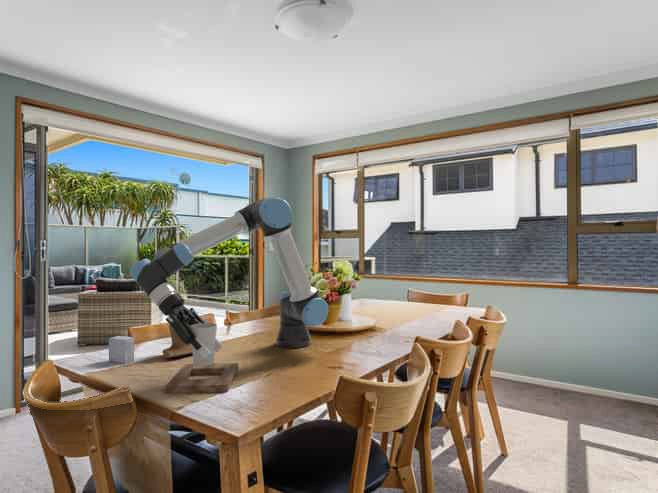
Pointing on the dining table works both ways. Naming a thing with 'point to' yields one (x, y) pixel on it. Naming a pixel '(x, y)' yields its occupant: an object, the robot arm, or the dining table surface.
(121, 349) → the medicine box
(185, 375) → the board
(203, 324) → the cup
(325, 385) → the dining table surface
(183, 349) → the wooden stamp
